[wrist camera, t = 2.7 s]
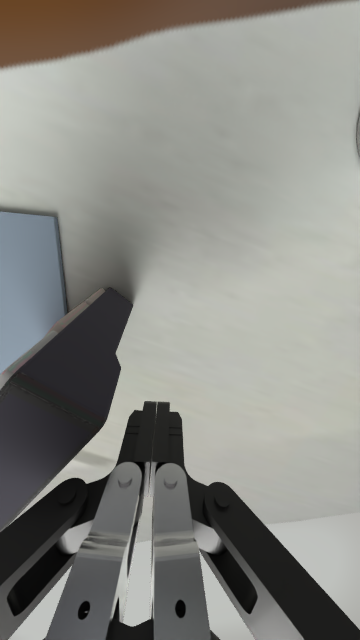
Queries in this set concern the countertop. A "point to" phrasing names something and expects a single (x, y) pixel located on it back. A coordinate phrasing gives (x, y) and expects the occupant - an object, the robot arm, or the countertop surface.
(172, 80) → the countertop surface
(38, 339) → the mat
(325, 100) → the countertop surface
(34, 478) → the dark grey boxy piece
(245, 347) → the countertop surface
